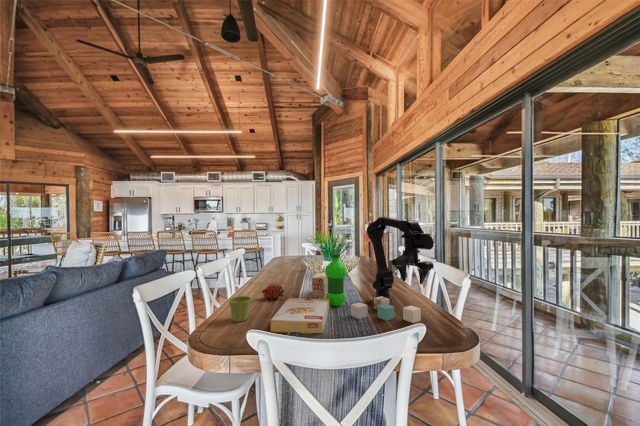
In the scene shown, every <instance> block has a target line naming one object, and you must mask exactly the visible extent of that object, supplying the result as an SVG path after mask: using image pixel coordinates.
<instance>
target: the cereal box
mask: <svg viewBox="0 0 640 426" xmlns="http://www.w3.org/2000/svg"><path fill="white" fill-rule="evenodd" d="M329 312H330V304H329V299H328V298H312V297H311V298H309V297H307V298H303V297H302V298H301V297H300V298H297V297H289V298H287V300H286V301H285V302H284V303H283V304H282V305H281V306H280V308H279V309H278V310H277V312H276V313H275V314H274V315H273V316H272V317H271V319H270V332H273V333H274V332H276V333H291V332H300V333H299V334H312V333H322V332H324V329H325V326H324V325H326V322H327V318H328V315H329ZM322 334H323V333H322Z"/></svg>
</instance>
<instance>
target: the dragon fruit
mask: <svg viewBox="0 0 640 426" xmlns="http://www.w3.org/2000/svg"><path fill="white" fill-rule="evenodd" d="M284 292H285V290H284V288H283V287H282V286H281V285H279V284H278V283H275V284H273V283H270V284H269V285H267V287H266V288H263V289H262V290H261V294H263V297H264V298H265V299H269V300H271V301H273V300H279V298H281V297H283V296H284Z"/></svg>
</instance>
